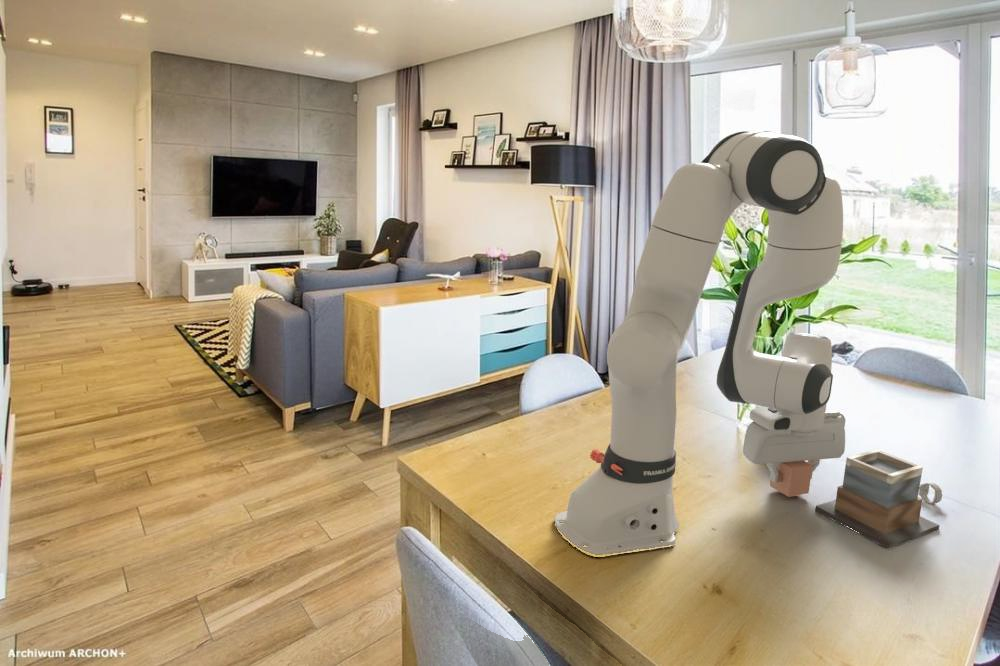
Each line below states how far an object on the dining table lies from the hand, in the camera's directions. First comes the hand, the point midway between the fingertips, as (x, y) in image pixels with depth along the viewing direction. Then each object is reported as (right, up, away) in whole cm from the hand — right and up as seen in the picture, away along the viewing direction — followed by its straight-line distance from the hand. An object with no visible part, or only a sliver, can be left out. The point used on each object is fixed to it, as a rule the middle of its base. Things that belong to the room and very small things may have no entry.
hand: (790, 479), depth 120 cm
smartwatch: (+26, -4, -2) cm, 26 cm away
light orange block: (0, -2, +1) cm, 2 cm away
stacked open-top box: (+11, -5, -9) cm, 15 cm away
